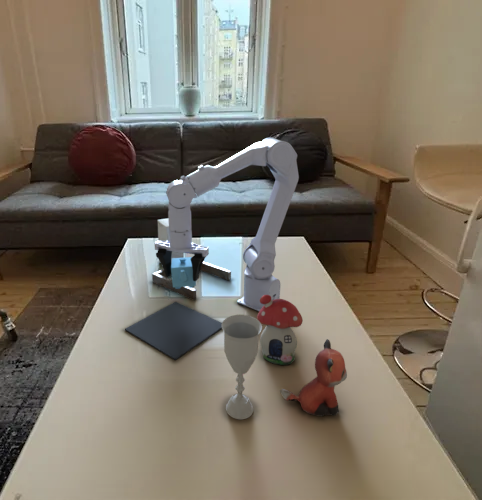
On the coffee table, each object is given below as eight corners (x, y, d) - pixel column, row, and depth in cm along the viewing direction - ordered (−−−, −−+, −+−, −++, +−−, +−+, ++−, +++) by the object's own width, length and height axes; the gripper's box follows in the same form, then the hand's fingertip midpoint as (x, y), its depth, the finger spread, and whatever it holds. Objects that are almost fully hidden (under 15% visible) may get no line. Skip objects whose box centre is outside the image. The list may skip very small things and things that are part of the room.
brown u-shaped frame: (231, 279, 121) (231, 270, 120) (193, 300, 110) (193, 291, 109) (190, 264, 133) (190, 256, 132) (152, 282, 121) (151, 273, 120)
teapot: (196, 294, 98) (194, 267, 96) (172, 296, 98) (169, 269, 96) (195, 276, 109) (193, 251, 107) (174, 277, 110) (172, 252, 107)
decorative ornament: (252, 357, 85) (254, 297, 80) (262, 341, 91) (265, 284, 85) (293, 370, 81) (299, 308, 75) (301, 353, 86) (307, 294, 81)
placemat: (225, 326, 97) (225, 324, 97) (175, 360, 85) (175, 358, 85) (175, 302, 109) (175, 301, 109) (124, 330, 97) (124, 328, 97)
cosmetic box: (158, 261, 136) (156, 219, 130) (176, 258, 138) (174, 216, 133) (167, 270, 129) (165, 226, 123) (185, 266, 131) (184, 223, 126)
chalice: (257, 426, 68) (261, 340, 61) (218, 421, 69) (218, 336, 62) (258, 396, 74) (262, 316, 68) (223, 392, 76) (224, 313, 69)
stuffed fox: (277, 387, 77) (281, 336, 72) (335, 389, 75) (343, 338, 71) (282, 416, 70) (286, 362, 65) (346, 419, 69) (355, 364, 64)
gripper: (212, 227, 98) (213, 275, 103) (162, 221, 104) (164, 267, 109) (202, 236, 92) (203, 286, 97) (149, 229, 98) (152, 277, 103)
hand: (182, 277), depth 102 cm, fingers closed on teapot, 7 cm apart
